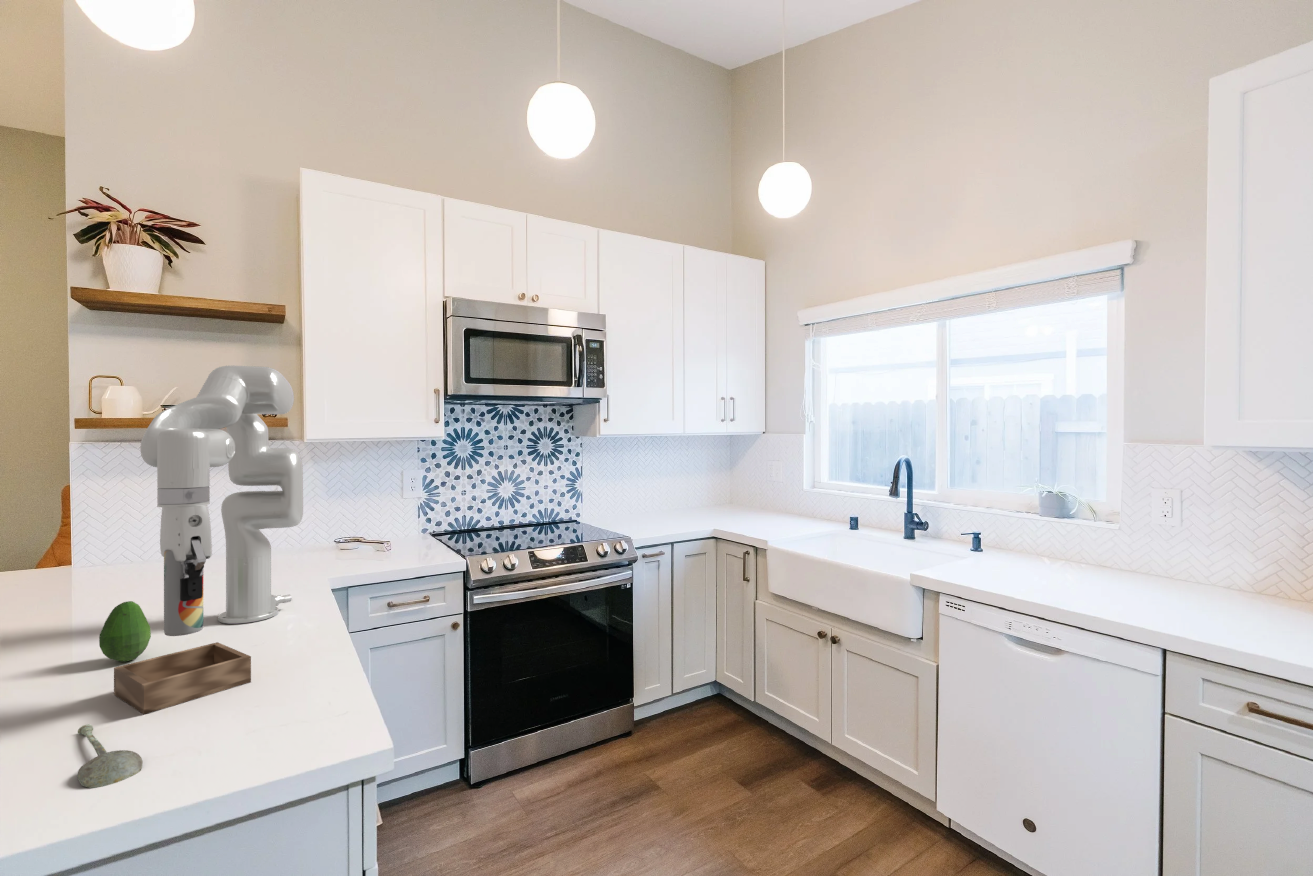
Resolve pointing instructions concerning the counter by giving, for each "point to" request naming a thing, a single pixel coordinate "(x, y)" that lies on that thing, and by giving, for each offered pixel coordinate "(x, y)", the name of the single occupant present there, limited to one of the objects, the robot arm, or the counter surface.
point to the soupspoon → (107, 764)
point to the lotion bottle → (179, 601)
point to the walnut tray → (181, 676)
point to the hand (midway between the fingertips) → (183, 596)
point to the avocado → (125, 632)
